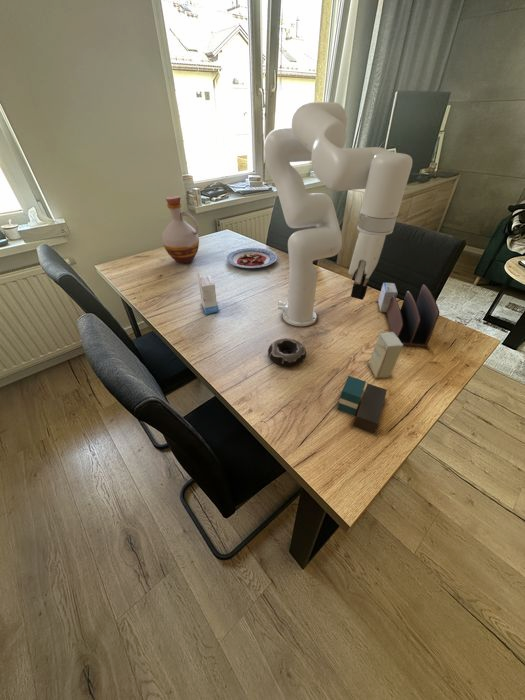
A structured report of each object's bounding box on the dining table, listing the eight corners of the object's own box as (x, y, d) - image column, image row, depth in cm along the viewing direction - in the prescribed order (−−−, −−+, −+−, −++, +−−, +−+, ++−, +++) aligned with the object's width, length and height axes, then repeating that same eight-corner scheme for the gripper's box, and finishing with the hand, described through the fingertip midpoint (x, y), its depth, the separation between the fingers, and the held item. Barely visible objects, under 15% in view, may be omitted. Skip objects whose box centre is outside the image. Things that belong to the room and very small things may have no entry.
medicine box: (391, 313, 109) (398, 292, 104) (379, 312, 110) (385, 291, 105) (389, 302, 115) (395, 283, 110) (377, 301, 116) (383, 282, 111)
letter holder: (413, 315, 108) (426, 281, 99) (426, 348, 93) (443, 311, 84) (385, 312, 110) (396, 278, 101) (394, 344, 95) (407, 307, 86)
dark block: (353, 426, 70) (356, 415, 68) (364, 393, 78) (367, 383, 76) (374, 434, 68) (378, 424, 66) (383, 399, 77) (387, 389, 74)
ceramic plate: (277, 271, 139) (277, 265, 137) (224, 271, 139) (223, 265, 137) (276, 251, 158) (276, 246, 156) (229, 251, 159) (229, 246, 157)
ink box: (218, 312, 111) (214, 276, 101) (205, 314, 109) (200, 278, 100) (213, 301, 117) (209, 267, 107) (201, 304, 116) (196, 269, 106)
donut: (269, 344, 95) (269, 334, 93) (305, 346, 94) (306, 336, 92) (266, 368, 86) (266, 358, 84) (305, 371, 85) (306, 361, 83)
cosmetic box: (368, 364, 87) (378, 331, 80) (382, 363, 88) (393, 331, 80) (376, 378, 83) (387, 346, 75) (391, 377, 83) (404, 345, 75)
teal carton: (344, 417, 75) (326, 395, 73) (350, 401, 79) (333, 380, 77) (371, 412, 69) (352, 388, 68) (376, 395, 73) (358, 372, 72)
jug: (210, 255, 155) (202, 193, 135) (196, 269, 141) (186, 202, 122) (176, 252, 158) (164, 191, 139) (160, 265, 145) (144, 200, 126)
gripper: (367, 211, 68) (351, 281, 80) (349, 229, 58) (334, 306, 70) (400, 216, 65) (378, 288, 77) (387, 236, 55) (364, 315, 67)
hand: (357, 296), depth 74 cm, fingers closed
